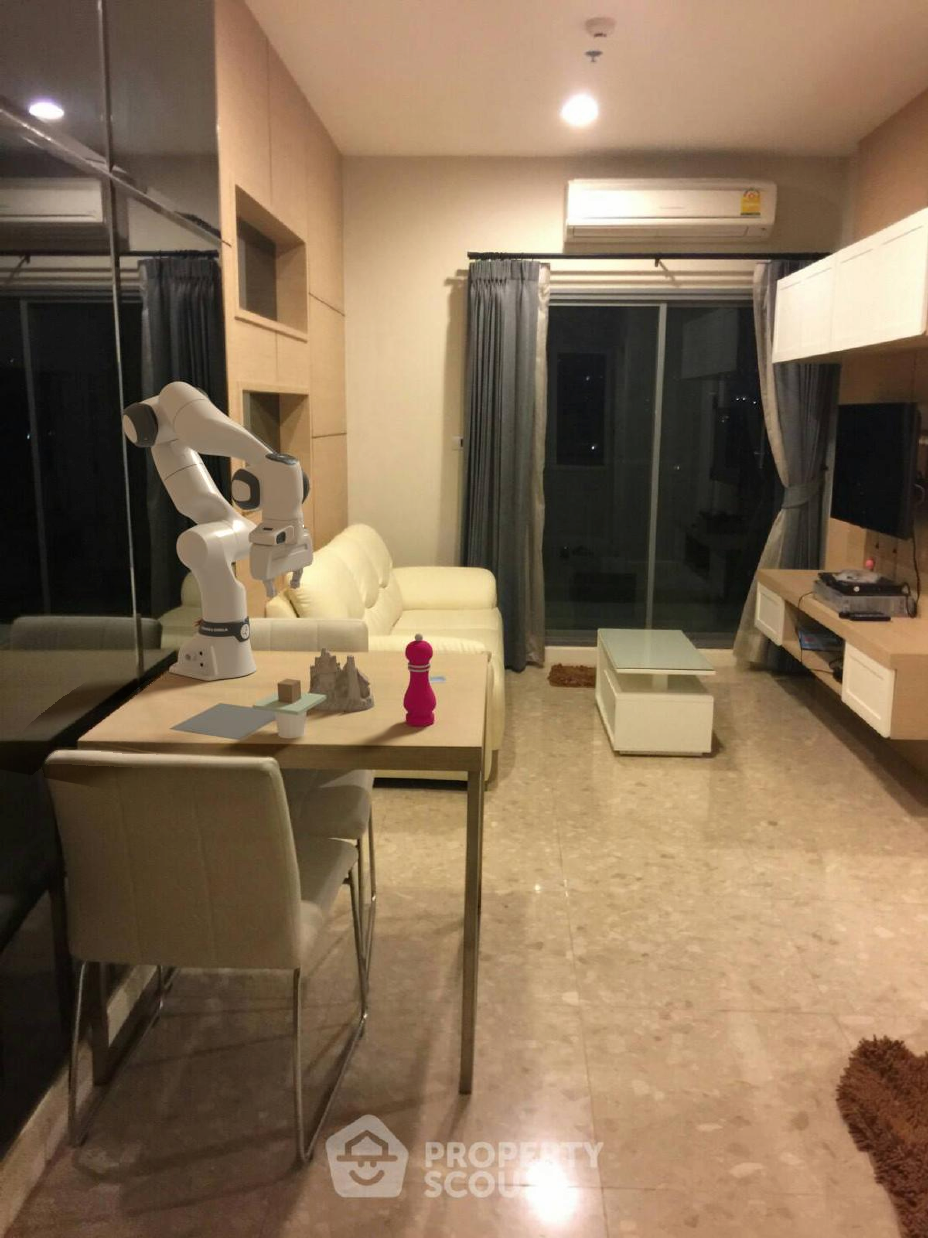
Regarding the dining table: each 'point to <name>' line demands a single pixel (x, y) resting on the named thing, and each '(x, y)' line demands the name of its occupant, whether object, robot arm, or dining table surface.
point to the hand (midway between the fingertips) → (283, 592)
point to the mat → (227, 721)
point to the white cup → (290, 725)
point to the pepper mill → (419, 684)
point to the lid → (289, 699)
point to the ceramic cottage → (339, 684)
